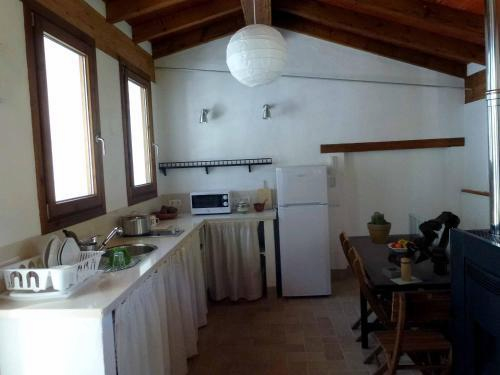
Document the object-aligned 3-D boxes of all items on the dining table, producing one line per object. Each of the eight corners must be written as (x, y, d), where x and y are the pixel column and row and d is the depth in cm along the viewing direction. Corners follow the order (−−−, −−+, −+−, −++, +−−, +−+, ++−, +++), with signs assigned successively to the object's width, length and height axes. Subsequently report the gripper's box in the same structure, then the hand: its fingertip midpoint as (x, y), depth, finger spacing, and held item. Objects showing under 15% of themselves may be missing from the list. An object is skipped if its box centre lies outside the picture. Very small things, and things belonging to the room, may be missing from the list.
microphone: (405, 274, 236) (392, 261, 256) (408, 265, 235) (395, 253, 255) (397, 272, 236) (385, 259, 256) (400, 263, 235) (387, 251, 254)
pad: (412, 278, 219) (412, 276, 219) (422, 282, 211) (422, 281, 211) (390, 281, 217) (390, 279, 217) (399, 286, 208) (399, 284, 208)
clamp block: (397, 271, 232) (397, 265, 232) (408, 277, 221) (408, 270, 221) (380, 274, 230) (380, 267, 229) (390, 279, 219) (390, 273, 219)
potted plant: (363, 240, 316) (362, 210, 314) (385, 238, 318) (384, 208, 316) (373, 245, 297) (372, 213, 295) (396, 243, 299) (395, 212, 297)
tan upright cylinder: (407, 278, 217) (407, 257, 216) (413, 281, 212) (413, 259, 211) (399, 279, 216) (398, 258, 215) (404, 282, 211) (404, 260, 210)
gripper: (408, 228, 222) (391, 248, 221) (428, 234, 204) (410, 257, 203) (420, 240, 224) (404, 260, 223) (442, 247, 206) (424, 269, 205)
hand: (410, 261), depth 214 cm, fingers open, 9 cm apart
